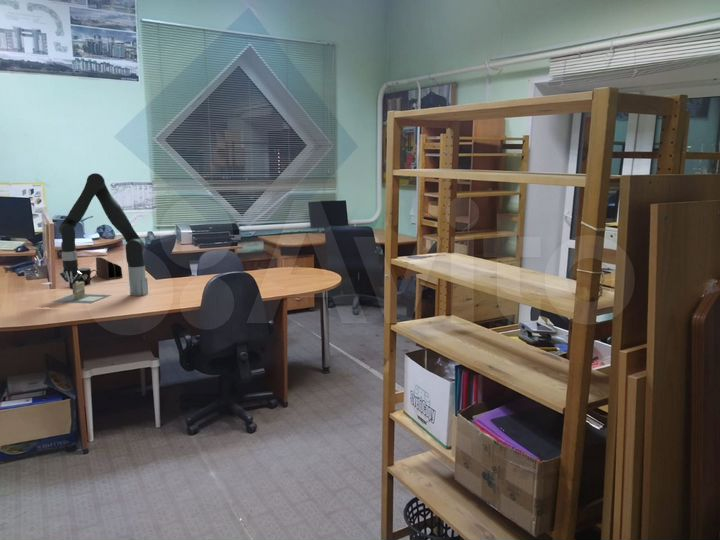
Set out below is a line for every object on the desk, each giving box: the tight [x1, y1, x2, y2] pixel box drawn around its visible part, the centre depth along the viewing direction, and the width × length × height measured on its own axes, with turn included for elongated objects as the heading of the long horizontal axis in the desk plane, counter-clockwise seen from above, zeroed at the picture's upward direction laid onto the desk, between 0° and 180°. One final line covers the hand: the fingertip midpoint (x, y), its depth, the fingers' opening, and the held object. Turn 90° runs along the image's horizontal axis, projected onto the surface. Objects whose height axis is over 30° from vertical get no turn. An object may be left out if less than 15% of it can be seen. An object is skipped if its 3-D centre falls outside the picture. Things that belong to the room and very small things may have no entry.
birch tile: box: [72, 281, 86, 300], centre depth 306 cm, size 3×7×9 cm, turn 173°
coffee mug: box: [77, 267, 97, 286], centre depth 348 cm, size 12×9×10 cm
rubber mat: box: [51, 293, 112, 304], centre depth 307 cm, size 24×20×1 cm
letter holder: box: [95, 256, 123, 281], centre depth 371 cm, size 10×20×14 cm, turn 46°
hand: (72, 288), depth 306 cm, fingers closed
